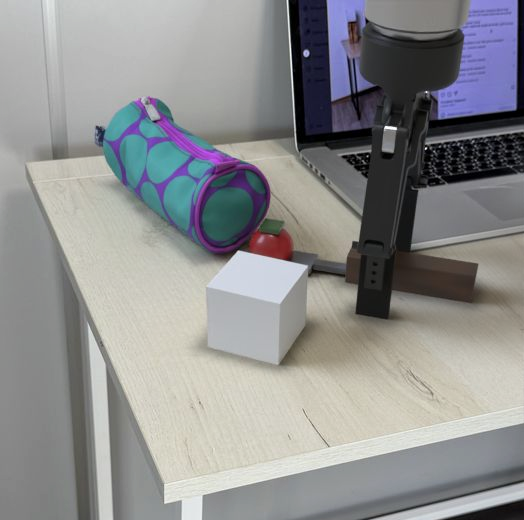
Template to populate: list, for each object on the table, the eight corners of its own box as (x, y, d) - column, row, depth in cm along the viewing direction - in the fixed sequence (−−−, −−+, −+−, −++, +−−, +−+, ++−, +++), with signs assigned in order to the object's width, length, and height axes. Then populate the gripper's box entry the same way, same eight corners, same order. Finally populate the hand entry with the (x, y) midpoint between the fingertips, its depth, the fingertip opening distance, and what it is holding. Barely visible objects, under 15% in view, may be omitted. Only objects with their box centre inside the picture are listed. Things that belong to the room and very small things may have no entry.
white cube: (305, 329, 72) (308, 265, 69) (278, 369, 68) (280, 304, 64) (238, 312, 74) (238, 250, 70) (207, 351, 70) (205, 286, 66)
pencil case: (98, 185, 93) (89, 97, 88) (172, 167, 97) (167, 81, 92) (195, 271, 79) (191, 172, 74) (276, 246, 83) (279, 150, 78)
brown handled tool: (474, 288, 78) (482, 244, 75) (469, 311, 75) (477, 267, 72) (254, 252, 82) (254, 210, 80) (241, 273, 79) (241, 230, 77)
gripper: (390, -17, 74) (367, 219, 87) (327, 67, 57) (310, 346, 70) (480, -8, 73) (443, 230, 86) (445, 80, 55) (404, 364, 68)
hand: (384, 282), depth 78 cm, fingers open, 10 cm apart
